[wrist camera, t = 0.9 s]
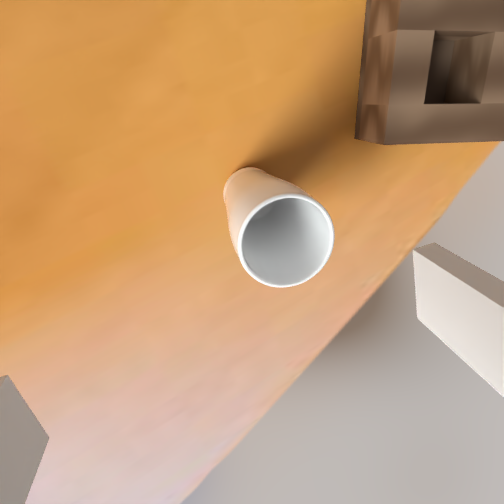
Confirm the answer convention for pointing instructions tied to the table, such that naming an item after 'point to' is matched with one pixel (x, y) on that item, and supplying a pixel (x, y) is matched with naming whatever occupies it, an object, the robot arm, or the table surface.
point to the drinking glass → (276, 228)
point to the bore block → (432, 72)
